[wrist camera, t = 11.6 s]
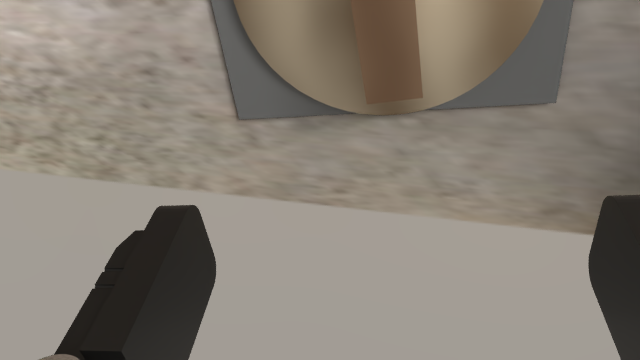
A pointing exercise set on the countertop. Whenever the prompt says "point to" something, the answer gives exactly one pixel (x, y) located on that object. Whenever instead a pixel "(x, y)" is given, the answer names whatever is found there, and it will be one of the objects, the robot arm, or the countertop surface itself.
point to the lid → (386, 47)
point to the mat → (497, 90)
